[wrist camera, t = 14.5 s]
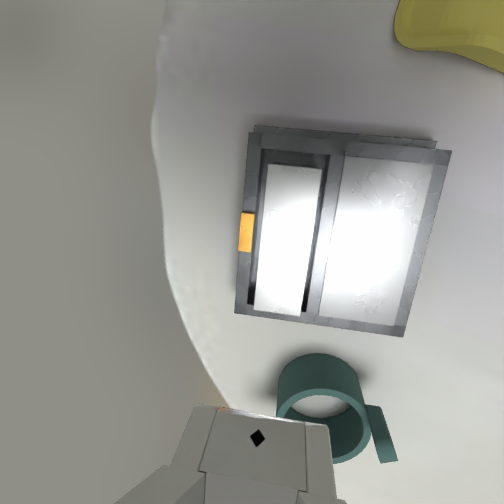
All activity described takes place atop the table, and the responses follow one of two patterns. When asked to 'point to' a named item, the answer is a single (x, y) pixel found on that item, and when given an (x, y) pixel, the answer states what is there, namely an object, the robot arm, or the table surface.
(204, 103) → the table surface
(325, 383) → the bracket
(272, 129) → the grey flat box
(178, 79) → the table surface
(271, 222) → the gray metallic block
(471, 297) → the table surface
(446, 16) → the plastic component
